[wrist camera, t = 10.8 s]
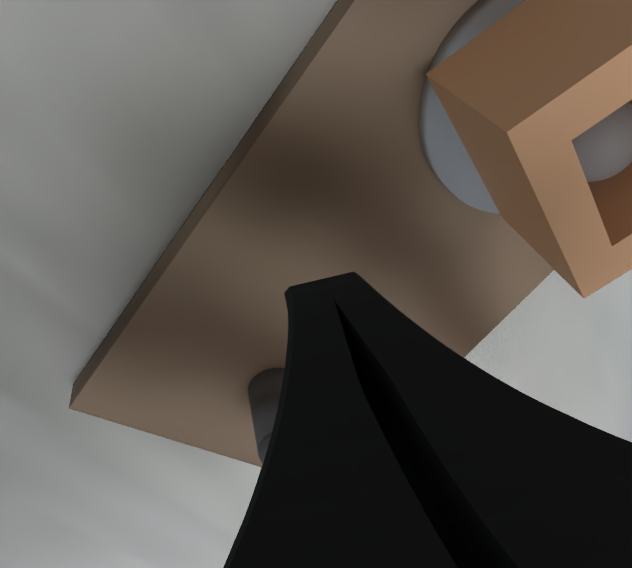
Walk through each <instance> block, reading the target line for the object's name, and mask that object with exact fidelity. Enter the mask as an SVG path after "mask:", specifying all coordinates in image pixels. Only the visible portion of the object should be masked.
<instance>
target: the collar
mask: <svg viewBox="0 0 632 568" xmlns="http://www.w3.org/2000/svg"><path fill="white" fill-rule="evenodd" d="M426 75H427V77H428V79H429V81H430V83H431V85H432V87H433V89H434V90H435V92H436V94H437V96H438V98H439V100H440V102H441V104H442V106H443V107H444V109H445V111H446V113H447V115H448V117H449V119H450V121H451V122H452V124H453V126H454V128H455V130H456V132H457V134H458V136H459V138H460V139H461V141H462V143H463V145H464V147H465V149H466V151H467V153H468V154H469V156H470V158H471V160H472V162H473V164H474V166H475V168H476V170H477V171H478V173H479V175H480V177H481V179H482V181H483V183H484V185H485V187H486V188H487V190H488V192H489V194H490V196H491V198H492V200H493V202H494V203H495V205H496V207H497V209H498V211H499V213H500V215H501V217H502V218H503V219H504V220H505V221H506V222H507V223H508V224H509V225H510V226H511V227H512V228H513V229H514V230H515V231H516V232H517V233H518V234H519V235H520V236H521V237H522V238H523V239H524V240H525V241H526V242H527V243H528V244H529V245H530V246H531V247H532V248H533V249H534V250H535V251H536V252H537V253H538V254H539V255H540V256H541V257H542V258H543V259H544V260H545V261H546V262H547V263H548V264H549V265H550V266H551V267H552V268H553V269H554V270H555V271H556V272H557V273H558V274H559V275H561V276H562V277H563V278H564V279H565V280H566V281H567V282H568V283H569V284H570V285H571V286H572V287H573V288H574V289H575V290H576V291H577V292H578V293H579V294H580V295H581V296H582V297H583V298H586V297H587V296H589V295H591V294H592V293H594V292H595V291H597V290H599V289H600V288H602V287H603V286H605V285H607V284H608V283H610V282H611V281H613V280H615V279H616V278H618V277H620V276H621V275H623V274H624V273H626V272H628V271H629V270H631V269H632V162H631V163H630V164H629V165H628V166H627V167H626V168H625V169H623V170H622V171H621V172H619V173H618V174H616V175H614V176H612V177H610V178H607V179H604V180H600V181H593V182H587V180H586V177H585V175H584V172H583V169H582V167H581V164H580V162H579V159H578V156H577V154H576V151H575V149H574V146H573V143H572V141H571V140H573V139H574V138H576V137H577V136H579V135H580V134H582V133H583V132H585V131H586V130H588V129H589V128H591V127H592V126H593V125H595V124H596V123H598V122H599V121H601V120H602V119H604V118H605V117H607V116H608V115H610V114H611V113H613V112H614V111H616V110H617V109H618V108H620V107H621V106H623V105H624V104H626V103H627V102H630V103H631V104H632V0H525V1H524V2H522V3H521V4H520V5H518V6H517V7H516V8H514V9H513V10H512V11H510V12H509V13H508V14H506V15H505V16H503V17H502V18H501V19H499V20H498V21H497V22H495V23H494V24H493V25H491V26H490V27H489V28H487V29H486V30H485V31H483V32H482V33H481V34H479V35H478V36H477V37H475V38H474V39H472V40H471V41H470V42H468V43H467V44H466V45H464V46H463V47H462V48H460V49H459V50H458V51H456V52H455V53H454V54H452V55H451V56H450V57H448V58H447V59H446V60H444V61H443V62H441V63H440V64H439V65H437V66H436V67H435V68H433V69H432V70H431V71H429V72H428V73H427V74H426Z"/></svg>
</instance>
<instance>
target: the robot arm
mask: <svg viewBox="0 0 632 568" xmlns="http://www.w3.org/2000/svg"><path fill="white" fill-rule="evenodd" d="M284 295H285V300H286V305H287V310H288V341H287V351H286V362H285V370H284V376H283V382H282V387H281V393H280V398H279V404H278V409H277V413H276V418H275V422H274V426H273V430H272V434H271V438H270V441H269V445H268V449H267V452H266V456H265V459H264V462H263V465H262V468H261V471H260V474H259V477H258V480H257V484H256V487H255V490H254V493H253V496H252V498H251V501H250V504H249V507H248V509H247V512H246V515H245V517H244V520H243V522H242V525H241V527H240V529H239V532H238V534H237V536H236V539H235V541H234V544H233V546H232V548H231V551H230V553H229V556H228V558H227V560H226V563H225V565H224V568H632V442H629V441H627V440H624V439H621V438H619V437H616V436H614V435H612V434H609V433H607V432H605V431H602V430H600V429H597V428H595V427H593V426H590V425H588V424H586V423H584V422H582V421H580V420H577V419H575V418H573V417H571V416H569V415H567V414H565V413H562V412H560V411H558V410H556V409H554V408H552V407H549V406H547V405H545V404H543V403H541V402H539V401H537V400H535V399H533V398H531V397H529V396H527V395H525V394H524V393H522V392H520V391H518V390H516V389H514V388H513V387H511V386H509V385H507V384H506V383H504V382H502V381H500V380H499V379H497V378H495V377H493V376H492V375H490V374H488V373H487V372H485V371H484V370H482V369H480V368H479V367H477V366H476V365H474V364H472V363H471V362H469V361H468V360H466V359H465V358H463V357H462V356H460V355H459V354H457V353H456V352H454V351H453V350H452V349H450V348H449V347H447V346H446V345H444V344H443V343H442V342H440V341H439V340H437V339H436V338H435V337H433V336H432V335H431V334H429V333H428V332H427V331H425V330H424V329H423V328H421V327H420V326H419V325H417V324H416V323H415V322H414V321H412V320H411V319H410V318H408V317H407V316H406V315H405V314H403V313H402V312H401V311H400V310H398V309H397V308H396V307H395V306H394V305H393V304H391V303H390V302H389V301H388V300H387V299H385V298H384V297H383V296H382V295H381V294H380V293H379V292H377V291H376V290H375V289H374V288H373V287H372V286H371V285H370V284H369V283H367V282H366V281H365V280H364V279H363V278H362V277H361V276H360V275H358V274H357V273H355V272H349V273H345V274H341V275H336V276H332V277H328V278H324V279H319V280H315V281H311V282H307V283H302V284H298V285H294V286H290V287H289V288H288V289H287V290H286V291H285V293H284Z"/></svg>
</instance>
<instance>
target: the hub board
mask: <svg viewBox="0 0 632 568" xmlns="http://www.w3.org/2000/svg"><path fill="white" fill-rule="evenodd" d="M524 1H525V0H338V1H337V2H336V4H335V5H334V6H333V8H332V9H331V11H330V12H329V14H328V15H327V17H326V18H325V20H324V21H323V22H322V24H321V25H320V27H319V28H318V30H317V31H316V33H315V34H314V36H313V37H312V38H311V40H310V41H309V43H308V44H307V46H306V47H305V49H304V50H303V51H302V53H301V54H300V56H299V57H298V59H297V60H296V62H295V63H294V65H293V66H292V67H291V69H290V70H289V72H288V73H287V75H286V76H285V78H284V79H283V81H282V82H281V83H280V85H279V86H278V88H277V89H276V91H275V92H274V94H273V95H272V96H271V98H270V99H269V101H268V102H267V104H266V105H265V107H264V108H263V110H262V111H261V112H260V114H259V115H258V117H257V118H256V120H255V121H254V123H253V124H252V125H251V127H250V128H249V130H248V131H247V133H246V134H245V136H244V137H243V139H242V140H241V141H240V143H239V144H238V146H237V147H236V149H235V150H234V152H233V153H232V155H231V156H230V157H229V159H228V160H227V162H226V163H225V165H224V166H223V168H222V169H221V171H220V172H219V173H218V175H217V176H216V178H215V179H214V181H213V182H212V184H211V185H210V186H209V188H208V189H207V191H206V192H205V194H204V195H203V197H202V198H201V200H200V201H199V202H198V204H197V205H196V207H195V208H194V210H193V211H192V213H191V214H190V215H189V217H188V218H187V220H186V221H185V223H184V224H183V226H182V227H181V229H180V230H179V231H178V233H177V234H176V236H175V237H174V239H173V240H172V242H171V243H170V245H169V246H168V247H167V249H166V250H165V252H164V253H163V255H162V256H161V258H160V259H159V261H158V262H157V263H156V265H155V266H154V268H153V269H152V271H151V272H150V274H149V275H148V276H147V278H146V279H145V281H144V282H143V284H142V285H141V287H140V288H139V290H138V291H137V292H136V294H135V295H134V297H133V298H132V300H131V301H130V303H129V304H128V305H127V307H126V308H125V310H124V311H123V313H122V314H121V316H120V317H119V319H118V320H117V321H116V323H115V324H114V326H113V327H112V329H111V330H110V332H109V333H108V335H107V336H106V337H105V339H104V340H103V342H102V343H101V345H100V346H99V348H98V349H97V350H96V352H95V353H94V355H93V356H92V358H91V359H90V361H89V362H88V364H87V365H86V366H85V368H84V369H83V371H82V372H81V374H80V375H79V377H78V378H77V380H76V381H75V382H74V384H73V389H72V394H71V400H70V405H69V408H70V409H73V410H76V411H79V412H83V413H86V414H89V415H93V416H96V417H99V418H102V419H106V420H109V421H112V422H115V423H119V424H122V425H125V426H129V427H132V428H135V429H138V430H142V431H145V432H148V433H152V434H155V435H158V436H161V437H165V438H168V439H171V440H174V441H178V442H181V443H184V444H188V445H191V446H194V447H197V448H201V449H204V450H207V451H210V452H214V453H217V454H220V455H224V456H227V457H230V458H233V459H237V460H240V461H243V462H247V463H250V464H253V465H256V466H260V467H262V465H263V462H264V459H265V456H266V452H267V449H268V445H269V441H270V438H271V434H272V430H273V426H274V422H275V418H276V413H277V409H278V404H279V398H280V393H281V387H282V382H283V376H284V370H285V362H286V351H287V341H288V310H287V305H286V300H285V295H284V293H285V291H286V290H287V289H288V288H289V287H290V286H294V285H298V284H302V283H307V282H311V281H315V280H319V279H324V278H328V277H332V276H336V275H341V274H345V273H349V272H355V273H357V274H358V275H360V276H361V277H362V278H363V279H364V280H365V281H366V282H367V283H369V284H370V285H371V286H372V287H373V288H374V289H375V290H376V291H377V292H379V293H380V294H381V295H382V296H383V297H384V298H385V299H387V300H388V301H389V302H390V303H391V304H393V305H394V306H395V307H396V308H397V309H398V310H400V311H401V312H402V313H403V314H405V315H406V316H407V317H408V318H410V319H411V320H412V321H414V322H415V323H416V324H417V325H419V326H420V327H421V328H423V329H424V330H425V331H427V332H428V333H429V334H431V335H432V336H433V337H435V338H436V339H437V340H439V341H440V342H442V343H443V344H444V345H446V346H447V347H449V348H450V349H452V350H453V351H454V352H456V353H457V354H459V355H460V356H462V357H463V358H464V357H465V356H466V355H467V354H468V353H469V352H470V351H471V350H472V349H473V348H474V347H475V346H476V345H477V344H478V343H479V342H480V341H481V340H482V339H483V338H485V337H486V336H487V335H488V334H489V333H490V332H491V331H492V330H493V329H494V328H495V327H496V326H497V325H498V324H499V323H500V322H501V321H502V320H503V319H504V318H505V317H506V316H507V315H508V314H509V313H510V312H511V311H512V310H513V309H514V308H515V307H516V306H517V305H518V304H519V303H520V302H521V301H522V300H523V299H524V298H525V297H527V296H528V295H529V294H530V293H531V292H532V291H533V290H534V289H535V288H536V287H537V286H538V285H539V284H540V283H541V282H542V281H543V280H544V279H545V278H546V277H547V276H548V275H549V274H550V273H551V272H552V271H553V270H554V269H553V268H552V267H551V266H550V265H549V264H548V263H547V262H546V261H545V260H544V259H543V258H542V257H541V256H540V255H539V254H538V253H537V252H536V251H535V250H534V249H533V248H532V247H531V246H530V245H529V244H528V243H527V242H526V241H525V240H524V239H523V238H522V237H521V236H520V235H519V234H518V233H517V232H516V231H515V230H514V229H513V228H512V227H511V226H510V225H509V224H508V223H507V222H506V221H505V220H504V219H503V218H502V217H501V215H500V213H499V211H498V209H497V207H496V205H495V203H494V202H493V200H492V198H491V196H490V194H489V192H488V190H487V188H486V187H485V185H484V183H483V181H482V179H481V177H480V175H479V173H478V171H477V170H476V168H475V166H474V164H473V162H472V160H471V158H470V156H469V154H468V153H467V151H466V149H465V147H464V145H463V143H462V141H461V139H460V138H459V136H458V134H457V132H456V130H455V128H454V126H453V124H452V122H451V121H450V119H449V117H448V115H447V113H446V111H445V109H444V107H443V106H442V104H441V102H440V100H439V98H438V96H437V94H436V92H435V90H434V89H433V87H432V85H431V83H430V81H429V79H428V77H427V75H426V74H427V73H428V72H429V71H431V70H432V69H433V68H435V67H436V66H437V65H439V64H440V63H441V62H443V61H444V60H446V59H447V58H448V57H450V56H451V55H452V54H454V53H455V52H456V51H458V50H459V49H460V48H462V47H463V46H464V45H466V44H467V43H468V42H470V41H471V40H472V39H474V38H475V37H477V36H478V35H479V34H481V33H482V32H483V31H485V30H486V29H487V28H489V27H490V26H491V25H493V24H494V23H495V22H497V21H498V20H499V19H501V18H502V17H503V16H505V15H506V14H508V13H509V12H510V11H512V10H513V9H514V8H516V7H517V6H518V5H520V4H521V3H522V2H524ZM571 141H572V143H573V146H574V149H575V151H576V154H577V156H578V159H579V162H580V164H581V167H582V169H583V172H584V175H585V177H586V180H587V182H593V181H600V180H604V179H607V178H610V177H612V176H614V175H616V174H618V173H619V172H621V171H622V170H623V169H625V168H626V167H627V166H628V165H629V164H630V163H631V162H632V104H631V103H630V102H627V103H626V104H624V105H623V106H621V107H620V108H618V109H617V110H616V111H614V112H613V113H611V114H610V115H608V116H607V117H605V118H604V119H602V120H601V121H599V122H598V123H596V124H595V125H593V126H592V127H591V128H589V129H588V130H586V131H585V132H583V133H582V134H580V135H579V136H577V137H576V138H574V139H573V140H571Z"/></svg>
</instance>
